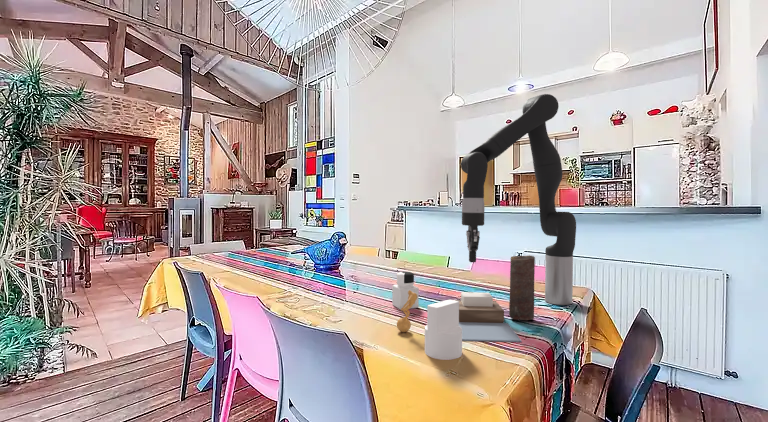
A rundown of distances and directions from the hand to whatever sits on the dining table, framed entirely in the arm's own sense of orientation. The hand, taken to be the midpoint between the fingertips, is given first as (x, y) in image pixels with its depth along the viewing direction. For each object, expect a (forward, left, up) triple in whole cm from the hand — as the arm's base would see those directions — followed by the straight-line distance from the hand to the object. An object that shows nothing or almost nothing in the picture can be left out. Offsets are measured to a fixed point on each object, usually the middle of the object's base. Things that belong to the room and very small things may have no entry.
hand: (472, 261), depth 135 cm
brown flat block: (+10, 0, -16) cm, 19 cm away
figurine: (+26, -22, -16) cm, 38 cm away
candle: (+12, +13, -16) cm, 24 cm away
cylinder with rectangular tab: (+40, -13, -16) cm, 45 cm away
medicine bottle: (-2, -23, -16) cm, 28 cm away
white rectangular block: (+9, 0, -11) cm, 14 cm away
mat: (+24, 0, -16) cm, 29 cm away
